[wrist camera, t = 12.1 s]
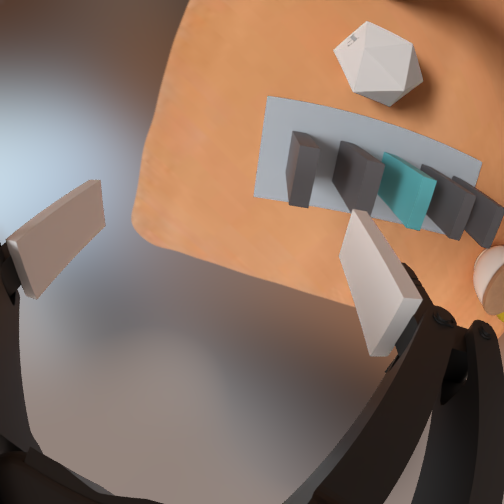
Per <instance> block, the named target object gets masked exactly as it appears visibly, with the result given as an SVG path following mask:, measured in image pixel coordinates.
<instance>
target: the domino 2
mask: <svg viewBox="0 0 504 504" xmlns="http://www.w3.org/2000/svg"><path fill="white" fill-rule="evenodd" d="M384 168H385V164H384V163H382V162H381V161H379V160H378V159H377V158H375V157H374V156H372V155H371V154H369V153H368V152H366V151H365V150H363V149H362V148H360V147H359V146H357V145H355V144H354V143H350V142H346V141H340V146H339V151H338V155H337V160H336V165H335V169H334V174H333V178H332V182H333V184H334V186H335V187H336V189H337V191H338V192H339V194H340V196H341V197H342V199H343V201H344V202H345V204H346V206H347V207H348V209H349V211H350V213H352V210H353V209H356V210H362V211H367V213H368V214H369V216H370V217H371V213H372V210H373V207H374V204H375V200H376V197H377V193H378V190H379V186H380V183H381V179H382V175H383V172H384Z"/></svg>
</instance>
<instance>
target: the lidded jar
mask: <svg viewBox="0 0 504 504" xmlns="http://www.w3.org/2000/svg"><path fill="white" fill-rule="evenodd" d="M473 284H474V289H475V292H476V294H477V297H478V299H479V300H480V302H481V304H482V305H483V308H484V310H485V311H486V312H487V313H488V314H489V315H498V314H500V313H502V312H504V246H501V245H498V246H493V247H490V249H488V248H486V249H485V250H483V251H482V252H481V254H480V255H479V256H478V258H477V260H476V262H475V265H474V274H473Z"/></svg>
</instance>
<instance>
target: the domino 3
mask: <svg viewBox="0 0 504 504" xmlns="http://www.w3.org/2000/svg"><path fill="white" fill-rule="evenodd" d="M420 170H421V171H423V172H424V173H426V174H427V175H429V176H430V177H432V178H433V179H435V180H436V181H437V183H436V186H435V189H434V192H433V195H432V198H431V201H430V204H429V207H428V210H427V213H426V215H427V216H428V217H429V218H430V219H431V220H432V221H433V222H434V223H435V224H436V225H437V226H438V227H439V228H440V229H441V230H442V231H443V232H444V233H445V234H446V235H447V236H448V238H451V239H455V240H458V241H459V240H460V238H461V236H462V233H463V231H464V228H465V226H466V223H467V221H468V218H469V216H470V213H471V210H472V208H473V205H474V202H475V199H476V195H474V194H473V193H471V192H470V191H468V190H467V189H465V188H464V187H462V186H461V185H459V184H458V183H456V182H455V181H453V180H452V179H450V178H449V177H447V176H445V175H444V174H442V173H440V172H439V171H437V170H435V169H434V168H432V167H430V166H427V165H424V164H422V165H421V168H420Z"/></svg>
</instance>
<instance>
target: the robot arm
mask: <svg viewBox="0 0 504 504" xmlns="http://www.w3.org/2000/svg"><path fill="white" fill-rule="evenodd" d="M104 227H105V218H104V210H103V201H102V191H101V181H100V180H89V181H87V182H85V183H83V184H82V185H80V186H79V187H77V188H75V189H74V190H72V191H71V192H69V193H68V194H66V195H65V196H63V197H62V198H60V199H59V200H57V201H56V202H54V203H53V204H52V205H50V206H49V207H47V208H46V209H44V210H43V211H42V212H40V213H39V214H37V215H36V216H35V217H33V218H32V219H31V220H30V221H28V222H27V223H25V224H24V225H23V226H22V227H20V228H19V229H18V230H17V231H15V232H14V233H13V234H12V235H10V236H9V237H8V238H7V239H6V243H4V244H3V245H2V246H1V243H0V504H163V503H158V502H155V501H151V500H148V499H140V498H129V497H120V496H115V495H113V494H112V493H110V492H109V491H107V490H106V489H104V488H103V487H101V486H99V485H98V484H96V483H94V482H92V481H90V480H88V479H86V478H84V477H82V476H80V475H78V474H77V473H75V472H73V471H71V470H69V469H68V468H66V467H65V466H63V465H61V464H60V463H58V462H56V461H54V460H52V459H50V458H49V457H47V456H45V455H44V454H43V453H42V451H41V449H40V447H39V445H38V443H37V442H36V440H35V439H34V437H33V436H32V433H31V431H30V427H29V423H28V419H27V418H28V417H27V412H26V406H25V400H24V393H23V386H22V377H21V366H20V350H19V304H20V295H19V292H18V290H17V289H18V288H19V287H20V285H22V288H23V290H24V292H25V295H26V296H28V297H31V298H33V299H36V300H37V299H38V298H39V297H40V295H41V294H42V293H43V292H44V291H45V290H46V288H47V287H48V286H49V285H50V284H51V282H52V281H53V280H54V279H55V278H56V277H57V275H58V274H59V273H60V272H61V271H62V270H63V269H64V268H65V267H66V265H68V263H69V262H70V261H71V260H72V259H73V258H74V257H75V256H76V255H77V254H78V253H79V252H80V251H81V250H82V249H83V248H84V247H85V246H86V245H87V244H88V243H89V242H90V240H92V238H93V237H95V236H96V235H97V234H98V233H99V232H100V231H101V230H102V229H103V228H104ZM339 258H340V261H341V264H342V267H343V270H344V273H345V276H346V279H347V282H348V285H349V288H350V291H351V294H352V297H353V300H354V303H355V306H356V309H357V313H358V316H359V320H360V323H361V326H362V330H363V333H364V337H365V340H366V344H367V347H368V351H369V355H370V356H388V355H389V354H390V352H391V351H392V349H393V348H394V346H396V349H397V352H398V355H397V356H396V357H395V359H394V360H393V362H392V363H391V364H390V366H389V367H388V368H387V370H386V371H385V372H386V374H385V376H384V378H383V379H382V381H381V382H380V384H379V386H378V387H377V389H376V391H375V392H374V394H373V395H372V397H371V398H370V400H369V401H368V403H367V404H366V406H365V407H364V409H363V410H362V412H361V413H360V415H359V416H358V417H357V419H356V420H355V422H354V423H353V424H352V426H351V427H350V428H349V430H348V431H347V432H346V434H345V435H344V436H343V438H342V439H341V440H340V441H339V443H338V444H337V445H336V446H335V448H334V449H333V450H332V451H331V453H330V454H329V455H328V456H327V457H326V458H325V460H324V461H323V462H322V463H321V464H320V466H319V467H318V468H317V469H316V470H315V471H314V472H313V473H312V474H311V475H310V477H309V478H308V479H307V480H306V481H305V482H304V483H303V484H302V485H301V486H300V487H299V488H298V489H297V490H296V491H295V492H294V493H293V494H292V495H291V496H290V497H289V498H288V499H287V500H286V501H285V502H284V503H282V504H383V503H384V502H385V500H386V499H387V497H388V496H389V494H390V493H391V491H392V489H393V487H394V486H395V484H396V483H397V481H398V479H399V478H400V476H401V474H402V472H403V471H404V469H405V467H406V465H407V463H408V461H409V460H410V458H411V456H412V454H413V452H414V450H415V448H416V446H417V444H418V442H419V439H420V437H421V435H422V433H423V431H424V428H425V426H426V424H427V421H428V419H429V416H430V414H431V412H432V417H431V424H430V430H429V436H428V441H427V446H426V451H425V456H424V460H423V464H422V468H421V472H420V476H419V480H418V483H417V487H416V490H415V493H414V497H413V500H412V503H411V504H502V500H503V494H504V373H503V366H502V360H501V355H500V349H499V345H498V339H497V336H496V333H495V332H494V330H493V328H492V327H491V326H489V324H488V323H485V322H484V321H481V320H475V321H474V322H473V323H472V325H471V326H470V328H469V329H466V328H463V327H460V326H457V323H456V321H455V319H454V317H453V316H452V315H451V313H449V312H448V311H447V310H446V309H444V308H442V307H439V306H434V305H433V303H432V301H431V299H430V298H429V296H428V294H427V293H426V291H425V289H424V287H422V284H421V283H420V281H419V280H418V278H417V276H416V275H415V273H414V271H413V270H412V269H411V268H410V267H409V266H407V265H406V264H405V263H401V262H400V260H399V259H398V257H397V255H396V254H395V252H394V251H393V249H392V248H391V246H390V245H389V243H388V242H387V240H386V239H385V237H384V236H383V234H382V233H381V231H380V230H379V228H378V227H377V225H376V224H375V223H374V221H373V220H372V218H371V217H370V216H369V214H368V213H367V211H362V210H356V209H353V210H352V213H351V217H350V220H349V224H348V227H347V231H346V234H345V238H344V241H343V244H342V247H341V251H340V254H339ZM466 379H467V380H466Z"/></svg>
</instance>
